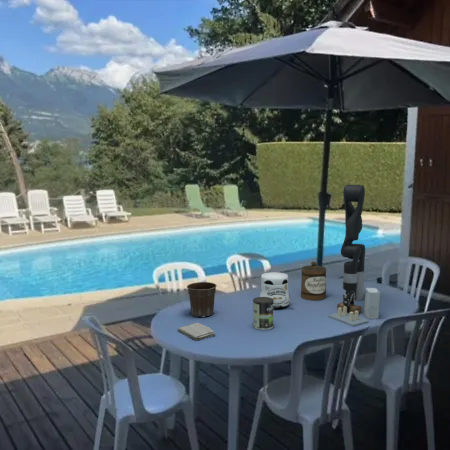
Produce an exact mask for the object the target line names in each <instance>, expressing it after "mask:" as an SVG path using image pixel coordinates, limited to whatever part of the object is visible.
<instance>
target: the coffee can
mask: <svg viewBox="0 0 450 450" xmlns="http://www.w3.org/2000/svg"><path fill="white" fill-rule="evenodd" d="M273 301H274V300H273V299H272V298H269V297H260V296H258V297H254V298H253V299H252V302H253V306H252V307H253V311H252V312H253V319H252V321H253V328H254V329H257V330H260V331H261V330H262V331H265V330H271V329H273V328H274V308H273Z"/></svg>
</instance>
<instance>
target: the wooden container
mask: <svg viewBox="0 0 450 450" xmlns="http://www.w3.org/2000/svg"><path fill="white" fill-rule="evenodd" d="M317 264H318V263H317V262H316V261H311V262H310V265H304V266H302V267H301V283H300V290H301V292H300V297H301V298H302V299H304V300H307V301H323V300H325V299H326V298H327V268H326V267H324V266H323V265H317Z"/></svg>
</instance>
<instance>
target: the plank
mask: <svg viewBox="0 0 450 450" xmlns="http://www.w3.org/2000/svg"><path fill="white" fill-rule="evenodd" d="M344 306H345V305H343V301H342V302H339V303H337V312H338V308H342V312H343V307H344ZM362 308H363V306H361V305H358V304H354V305H353V304H349V312H347V313H349V314H350V312H354V316H355V311H359V315H361V314H362V311H363V309H362ZM360 313H361V314H360Z"/></svg>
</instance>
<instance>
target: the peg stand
mask: <svg viewBox="0 0 450 450" xmlns="http://www.w3.org/2000/svg"><path fill="white" fill-rule="evenodd" d="M327 316H328V318H331V319H333V320H335V321H337V322H340V323H343V324H346V325H348V326H350V327H357V326H361V325H364V324H368V323H369V320H368V319H365V318H362V317H359V316H360V314H359V311H355V315H354V312H350V314H349V313H347V307H345V306H344V307H343V312H342V308H338V311H337V312H335V313H331V314H328V315H327Z"/></svg>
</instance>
